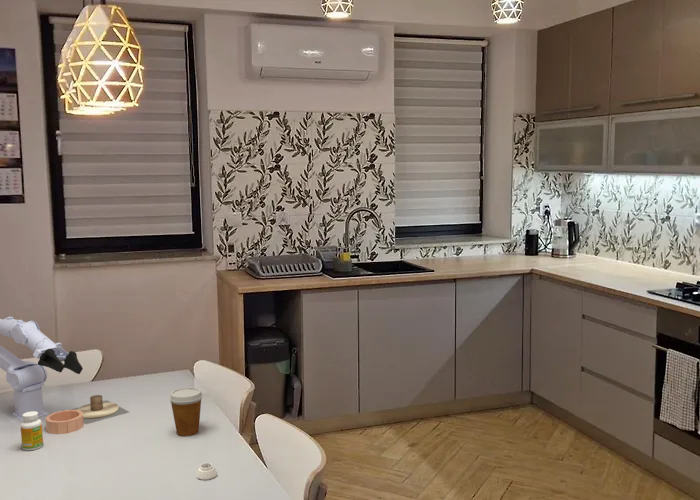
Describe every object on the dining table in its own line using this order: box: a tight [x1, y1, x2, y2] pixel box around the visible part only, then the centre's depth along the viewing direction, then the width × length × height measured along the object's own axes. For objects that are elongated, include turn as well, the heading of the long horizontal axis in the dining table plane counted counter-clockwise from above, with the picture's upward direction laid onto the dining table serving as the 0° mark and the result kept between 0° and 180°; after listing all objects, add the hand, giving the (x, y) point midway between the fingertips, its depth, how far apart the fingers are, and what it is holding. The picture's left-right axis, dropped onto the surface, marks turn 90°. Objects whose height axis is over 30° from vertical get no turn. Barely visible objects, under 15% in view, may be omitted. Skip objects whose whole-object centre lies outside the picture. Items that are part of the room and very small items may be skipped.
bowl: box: [45, 409, 85, 435], centre depth 212 cm, size 10×10×4 cm
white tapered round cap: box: [195, 462, 218, 481], centre depth 179 cm, size 5×3×5 cm
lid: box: [76, 394, 120, 419], centre depth 225 cm, size 13×13×5 cm
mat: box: [70, 399, 130, 425], centre depth 225 cm, size 16×14×1 cm
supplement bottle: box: [20, 411, 44, 451], centre depth 198 cm, size 5×5×10 cm
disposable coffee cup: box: [168, 387, 204, 437], centre depth 207 cm, size 10×10×12 cm
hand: (71, 370), depth 211 cm, fingers open, 7 cm apart
